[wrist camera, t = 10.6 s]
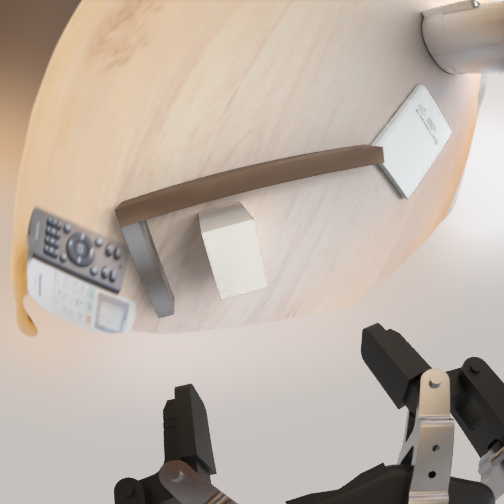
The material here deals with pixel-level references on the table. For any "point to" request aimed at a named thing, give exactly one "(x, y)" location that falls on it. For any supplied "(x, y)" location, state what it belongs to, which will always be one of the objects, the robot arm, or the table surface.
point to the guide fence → (215, 187)
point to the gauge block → (233, 249)
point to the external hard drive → (412, 140)
